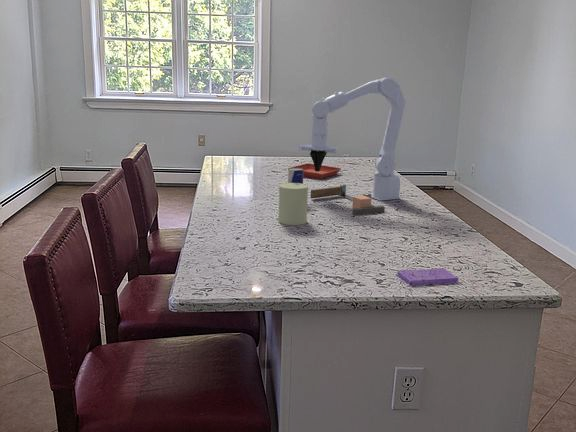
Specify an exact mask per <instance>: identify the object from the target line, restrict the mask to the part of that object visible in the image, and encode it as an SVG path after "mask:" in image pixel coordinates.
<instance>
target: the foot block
mask: <svg viewBox="0 0 576 432" xmlns="http://www.w3.org/2000/svg"><path fill="white" fill-rule="evenodd" d="M352 197H353V201H352V206H351V207H352V208H351V209H352V210H353V209H355V208H365V207H372V197H371V198H369V197H366V196H363V195H359V196H358V195H357V196H352Z"/></svg>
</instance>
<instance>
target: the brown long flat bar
mask: <svg viewBox="0 0 576 432" xmlns="http://www.w3.org/2000/svg"><path fill="white" fill-rule="evenodd" d="M339 195H340V185H339V186H332V187H331V186H330V187H323V188H316V189H315V188H314V189H311V190H310V198H311V199H319V198H327V197H333V196H339Z"/></svg>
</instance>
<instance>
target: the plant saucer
mask: <svg viewBox="0 0 576 432" xmlns="http://www.w3.org/2000/svg"><path fill="white" fill-rule="evenodd" d="M290 168H301V169H303V178H310V179H311V178H312V179H317V180H322V179H325V178H329V177H332V176H335V175H337V174H338V173H339V172H340V171H341V170H342V168H341V167H335V166H329V165H323V164H322V165H321V169H320V171H319V172H318V171H315V167H314V163H310V162H309V163H308V162H307V163H303V164H299V165H295V166H292V167H287V170H288V171H289V169H290Z"/></svg>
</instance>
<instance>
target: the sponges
mask: <svg viewBox="0 0 576 432" xmlns="http://www.w3.org/2000/svg"><path fill="white" fill-rule="evenodd" d="M396 272H397V275H396V276H397V277H398V276H399V277H398V278H400V279H401V280H402V281H403V280H404V281H405V282H404V281H403V282H404V283H406V285H408V284H409V285H408V286H410V285H411V286H422V285H421V284H426V285H432V284H433V285H439V283H440V284H452V283H453V284H455V283H457V282H459V277H458V276H457V275H455V274H453V273H451V272H449V271H448V270H447V269H445V268H444V267H443V268H427V269H425V268H423V269H420V268H419V269H398V270H397V271H396Z"/></svg>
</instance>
